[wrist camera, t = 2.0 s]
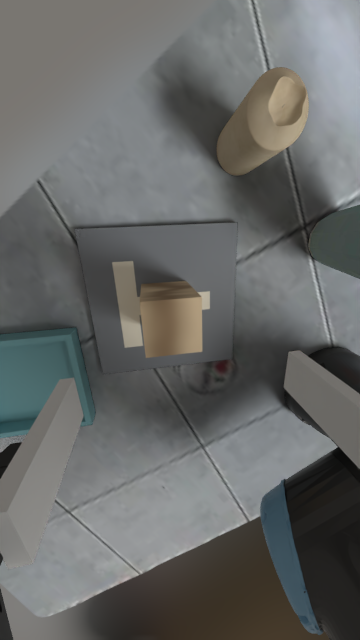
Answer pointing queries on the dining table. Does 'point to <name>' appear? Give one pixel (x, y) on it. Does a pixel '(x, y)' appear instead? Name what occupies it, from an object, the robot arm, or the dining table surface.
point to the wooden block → (171, 318)
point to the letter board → (157, 267)
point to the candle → (264, 122)
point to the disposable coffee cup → (338, 241)
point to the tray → (38, 376)
